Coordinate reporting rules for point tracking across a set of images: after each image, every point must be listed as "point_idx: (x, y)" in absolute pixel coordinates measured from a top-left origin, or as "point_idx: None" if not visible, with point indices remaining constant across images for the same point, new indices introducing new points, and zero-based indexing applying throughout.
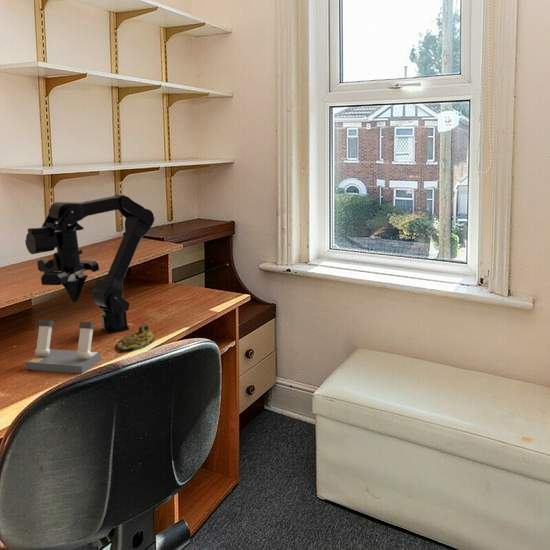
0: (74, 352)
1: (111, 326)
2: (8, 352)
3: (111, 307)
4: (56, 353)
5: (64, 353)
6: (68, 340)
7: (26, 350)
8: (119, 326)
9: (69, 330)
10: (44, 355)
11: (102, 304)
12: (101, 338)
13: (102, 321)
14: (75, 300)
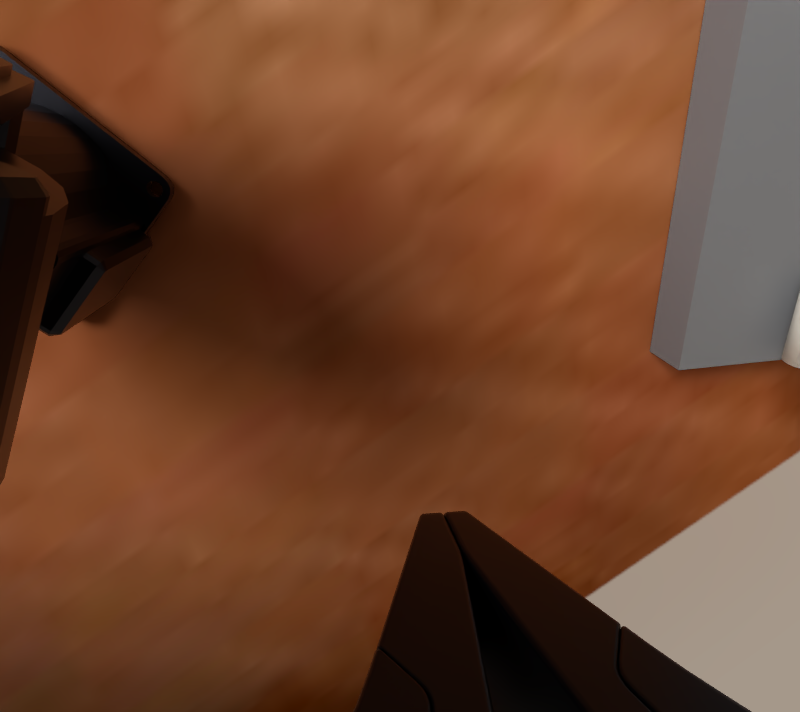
0: (752, 122)
1: (103, 188)
2: (603, 569)
3: (13, 110)
4: (763, 251)
5: (766, 192)
6: (388, 402)
7: (572, 513)
8: (49, 116)
9: (222, 511)
10: (789, 308)
11: (48, 277)
12: (288, 188)
13: (97, 300)
14: (485, 526)
